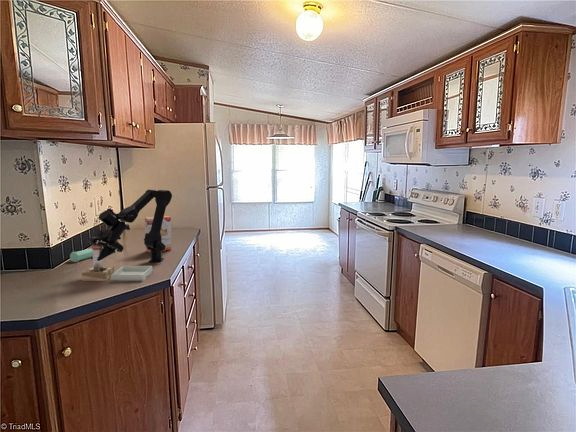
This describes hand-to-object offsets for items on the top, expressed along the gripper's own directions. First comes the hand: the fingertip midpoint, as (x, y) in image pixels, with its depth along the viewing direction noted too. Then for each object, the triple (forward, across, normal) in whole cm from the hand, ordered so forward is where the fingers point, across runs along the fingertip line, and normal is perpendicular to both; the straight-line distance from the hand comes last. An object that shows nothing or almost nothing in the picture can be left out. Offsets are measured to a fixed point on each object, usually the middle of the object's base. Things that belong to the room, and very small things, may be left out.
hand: (94, 259), depth 161 cm
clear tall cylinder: (+4, 0, +6) cm, 8 cm away
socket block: (+5, 0, +7) cm, 9 cm away
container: (-9, -37, +22) cm, 45 cm away
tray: (-1, +12, +13) cm, 18 cm away
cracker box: (-29, -16, +42) cm, 54 cm away
